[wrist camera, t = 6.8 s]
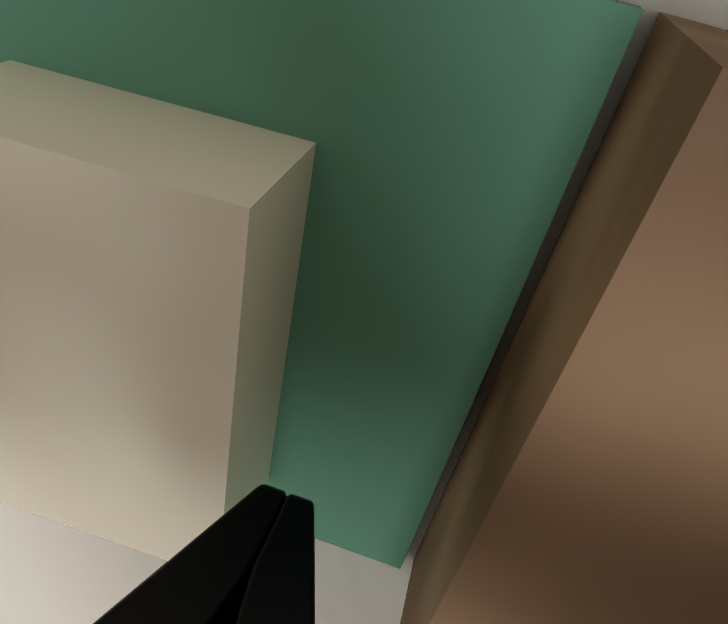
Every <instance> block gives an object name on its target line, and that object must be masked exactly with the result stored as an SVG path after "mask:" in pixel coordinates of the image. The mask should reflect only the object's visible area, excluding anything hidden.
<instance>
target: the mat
mask: <svg viewBox="0 0 728 624" xmlns="http://www.w3.org/2000/svg"><path fill="white" fill-rule="evenodd" d="M642 12H643V9H642V8H641V7H640V6H636V5H632V4H629V3H625V2H621V1H618V0H0V63H1V62H5V61H9V60H13V61H16V62H20V63H24V64H27V65H31V66H35V67H39V68H42V69H46V70H50V71H53V72H57V73H61V74H64V75H68V76H72V77H75V78H79V79H83V80H87V81H90V82H94V83H98V84H101V85H105V86H109V87H112V88H116V89H120V90H123V91H127V92H131V93H135V94H138V95H142V96H146V97H149V98H153V99H157V100H160V101H164V102H168V103H171V104H175V105H179V106H183V107H186V108H190V109H194V110H197V111H201V112H205V113H208V114H212V115H216V116H219V117H223V118H227V119H231V120H234V121H238V122H242V123H245V124H249V125H253V126H256V127H260V128H264V129H267V130H271V131H275V132H279V133H282V134H286V135H290V136H293V137H297V138H301V139H304V140H308V141H312V142H315V143H316V148H315V155H314V162H313V169H312V176H311V183H310V190H309V197H308V205H307V212H306V219H305V226H304V233H303V240H302V247H301V254H300V261H299V268H298V275H297V282H296V289H295V296H294V303H293V310H292V317H291V324H290V331H289V338H288V345H287V352H286V359H285V366H284V373H283V380H282V387H281V394H280V401H279V408H278V415H277V422H276V429H275V436H274V443H273V450H272V458H271V465H270V472H269V478H268V480H267V482H266V485H269V486H272V487H275V488H278V489H280V490H283V491H285V492H286V495H287V496H288V495H289V494H294V495H297V496H300V497H303V498H306V499H308V500H311V501H312V502H313V503H314V538H316V539H319V540H322V541H325V542H327V543H330V544H333V545H336V546H338V547H341V548H344V549H347V550H349V551H352V552H355V553H358V554H361V555H363V556H366V557H369V558H372V559H374V560H377V561H380V562H383V563H386V564H388V565H391V566H394V567H397V568H399V569H400V568H401V566H402V564H403V562H404V559H405V557H406V555H407V552H408V550H409V548H410V545H411V543H412V541H413V539H414V536H415V534H416V532H417V529H418V527H419V525H420V523H421V520H422V518H423V516H424V513H425V511H426V509H427V506H428V504H429V502H430V500H431V497H432V495H433V493H434V490H435V488H436V486H437V483H438V481H439V479H440V477H441V474H442V472H443V470H444V467H445V465H446V463H447V460H448V458H449V456H450V454H451V451H452V449H453V447H454V444H455V442H456V440H457V437H458V435H459V433H460V431H461V428H462V426H463V424H464V421H465V419H466V417H467V414H468V412H469V410H470V408H471V405H472V403H473V401H474V398H475V396H476V394H477V392H478V389H479V387H480V385H481V382H482V380H483V378H484V375H485V373H486V371H487V369H488V366H489V364H490V362H491V359H492V357H493V355H494V352H495V350H496V348H497V346H498V343H499V341H500V339H501V336H502V334H503V332H504V329H505V327H506V325H507V323H508V320H509V318H510V316H511V313H512V311H513V309H514V306H515V304H516V302H517V300H518V297H519V295H520V293H521V290H522V288H523V286H524V284H525V281H526V279H527V277H528V274H529V272H530V270H531V267H532V265H533V263H534V261H535V258H536V256H537V254H538V251H539V249H540V247H541V244H542V242H543V240H544V238H545V235H546V233H547V231H548V228H549V226H550V224H551V221H552V219H553V217H554V215H555V212H556V210H557V208H558V205H559V203H560V201H561V198H562V196H563V194H564V192H565V189H566V187H567V185H568V182H569V180H570V178H571V175H572V173H573V171H574V169H575V166H576V164H577V162H578V159H579V157H580V155H581V153H582V150H583V148H584V146H585V143H586V141H587V139H588V136H589V134H590V132H591V130H592V127H593V125H594V123H595V120H596V118H597V116H598V113H599V111H600V109H601V107H602V104H603V102H604V100H605V97H606V95H607V93H608V90H609V88H610V86H611V84H612V81H613V79H614V77H615V74H616V72H617V70H618V67H619V65H620V63H621V61H622V58H623V56H624V54H625V51H626V49H627V47H628V44H629V42H630V40H631V38H632V35H633V33H634V31H635V28H636V26H637V24H638V22H639V19H640V17H641V15H642Z"/></svg>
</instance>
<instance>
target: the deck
mask: <svg viewBox="0 0 728 624" xmlns="http://www.w3.org/2000/svg"><path fill="white" fill-rule="evenodd" d="M400 624H728V31H727V30H723V29H720V28H716V27H712V26H709V25H705V24H701V23H698V22H694V21H691V20H687V19H683V18H680V17H676V16H672V15H669V14H665V13H661V12H660V14H659V16H658V18H657V21H656V23H655V25H654V27H653V30H652V32H651V34H650V36H649V38H648V41H647V43H646V45H645V47H644V50H643V52H642V54H641V56H640V58H639V61H638V63H637V65H636V67H635V70H634V72H633V74H632V76H631V78H630V81H629V83H628V85H627V87H626V90H625V92H624V94H623V96H622V98H621V101H620V103H619V105H618V107H617V110H616V112H615V114H614V116H613V118H612V121H611V123H610V125H609V127H608V130H607V132H606V134H605V136H604V138H603V141H602V143H601V145H600V147H599V150H598V152H597V154H596V156H595V158H594V161H593V163H592V165H591V167H590V170H589V172H588V174H587V176H586V178H585V181H584V183H583V185H582V187H581V189H580V192H579V194H578V196H577V198H576V201H575V203H574V205H573V207H572V209H571V212H570V214H569V216H568V218H567V221H566V223H565V225H564V227H563V229H562V232H561V234H560V236H559V238H558V241H557V243H556V245H555V247H554V249H553V252H552V254H551V256H550V258H549V261H548V263H547V265H546V267H545V269H544V272H543V274H542V276H541V278H540V281H539V283H538V285H537V287H536V289H535V292H534V294H533V296H532V298H531V301H530V303H529V305H528V307H527V309H526V312H525V314H524V316H523V318H522V321H521V323H520V325H519V327H518V329H517V332H516V334H515V336H514V338H513V341H512V343H511V345H510V347H509V349H508V352H507V354H506V356H505V358H504V360H503V363H502V365H501V367H500V369H499V372H498V374H497V376H496V378H495V380H494V383H493V385H492V387H491V389H490V392H489V394H488V396H487V398H486V400H485V403H484V405H483V407H482V409H481V412H480V414H479V416H478V418H477V420H476V423H475V425H474V427H473V429H472V432H471V434H470V436H469V438H468V440H467V443H466V445H465V447H464V449H463V452H462V454H461V456H460V458H459V460H458V463H457V465H456V467H455V469H454V472H453V474H452V476H451V478H450V480H449V483H448V485H447V487H446V489H445V492H444V494H443V496H442V498H441V500H440V503H439V505H438V507H437V509H436V512H435V514H434V516H433V518H432V520H431V523H430V525H429V527H428V529H427V532H426V534H425V536H424V538H423V540H422V543H421V545H420V547H419V549H418V551H417V554H416V556H415V558H414V561H413V566H412V570H411V575H410V580H409V585H408V590H407V594H406V599H405V604H404V609H403V614H402V618H401V623H400Z"/></svg>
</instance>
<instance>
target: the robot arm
mask: <svg viewBox="0 0 728 624" xmlns="http://www.w3.org/2000/svg"><path fill="white" fill-rule="evenodd" d="M93 624H315V546H314V503H313V502H312V501H311V500H308V499H306V498H303V497H300V496H297V495H294V494H289V495H288V496H287V495H286V492H285V491H283V490H280V489H278V488H275V487H272V486H269V485H266V484H261V485H259V486H257V487H256V488H255V489H253V490H252V491H251V492H250V493H249V494H247V495H246V496H245V497H244V498H243V499H241V500H240V501H239V502H238V503H237V504H236V505H234V506H233V507H232V508H231V509H230V510H228V511H227V512H226V513H225V514H224V515H222V516H221V517H220V518H219V519H218V520H216V521H215V522H214V523H213V524H212V525H210V526H209V527H208V528H207V529H206V530H204V531H203V532H202V533H201V534H200V535H198V536H197V537H196V538H195V539H194V540H192V541H191V542H190V543H189V544H188V545H186V546H185V547H184V548H183V549H182V550H180V551H179V552H178V553H177V554H176V555H174V556H173V557H172V558H171V559H170V560H169V561H167V562H166V563H165V564H164V565H163V566H161V567H160V568H159V569H158V570H157V571H155V572H154V573H153V574H152V575H151V576H149V577H148V578H147V579H146V580H145V581H143V582H142V583H141V584H140V585H139V586H137V587H136V588H135V589H134V590H133V591H131V592H130V593H129V594H128V595H127V596H125V597H124V598H123V599H122V600H121V601H119V602H118V603H117V604H116V605H115V606H113V607H112V608H111V609H110V610H109V611H107V612H106V613H105V614H104V615H103V616H102V617H100V618H99V619H98V620H97V621H96V622H94V623H93Z"/></svg>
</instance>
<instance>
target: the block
mask: <svg viewBox="0 0 728 624" xmlns="http://www.w3.org/2000/svg"><path fill="white" fill-rule="evenodd" d="M315 148H316V143H315V142H312V141H308V140H304V139H301V138H297V137H293V136H290V135H286V134H282V133H279V132H275V131H271V130H267V129H264V128H260V127H256V126H253V125H249V124H245V123H242V122H238V121H234V120H231V119H227V118H223V117H219V116H216V115H212V114H208V113H205V112H201V111H197V110H194V109H190V108H186V107H183V106H179V105H175V104H171V103H168V102H164V101H160V100H157V99H153V98H149V97H146V96H142V95H138V94H135V93H131V92H127V91H123V90H120V89H116V88H112V87H109V86H105V85H101V84H98V83H94V82H90V81H87V80H83V79H79V78H75V77H72V76H68V75H64V74H61V73H57V72H53V71H50V70H46V69H42V68H39V67H35V66H31V65H27V64H24V63H20V62H16V61H13V60H9V61H5V62H1V63H0V503H3V504H6V505H9V506H11V507H14V508H17V509H20V510H23V511H26V512H29V513H31V514H34V515H37V516H40V517H43V518H46V519H49V520H51V521H54V522H57V523H60V524H63V525H66V526H68V527H71V528H74V529H77V530H80V531H83V532H86V533H88V534H91V535H94V536H97V537H100V538H103V539H106V540H108V541H111V542H114V543H117V544H120V545H123V546H125V547H128V548H131V549H134V550H137V551H140V552H143V553H145V554H148V555H151V556H154V557H157V558H160V559H162V560H165V561H169V560H170V559H171V558H172V557H173V556H174V555H176V554H177V553H178V552H179V551H180V550H182V549H183V548H184V547H185V546H186V545H188V544H189V543H190V542H191V541H192V540H194V539H195V538H196V537H197V536H198V535H200V534H201V533H202V532H203V531H204V530H206V529H207V528H208V527H209V526H210V525H212V524H213V523H214V522H215V521H216V520H218V519H219V518H220V517H221V516H222V515H224V514H225V513H226V512H227V511H228V510H230V509H231V508H232V507H233V506H234V505H236V504H237V503H238V502H239V501H240V500H241V499H243V498H244V497H245V496H246V495H247V494H249V493H250V492H251V491H252V490H253V489H255V488H256V487H257V486H259V485H261V484H266V482H267V480H268V478H269V472H270V465H271V458H272V450H273V443H274V436H275V429H276V422H277V415H278V408H279V401H280V394H281V387H282V380H283V373H284V366H285V359H286V352H287V345H288V338H289V331H290V324H291V317H292V310H293V303H294V296H295V289H296V282H297V275H298V268H299V261H300V254H301V247H302V240H303V233H304V226H305V219H306V212H307V205H308V197H309V190H310V183H311V176H312V169H313V162H314V155H315Z"/></svg>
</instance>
